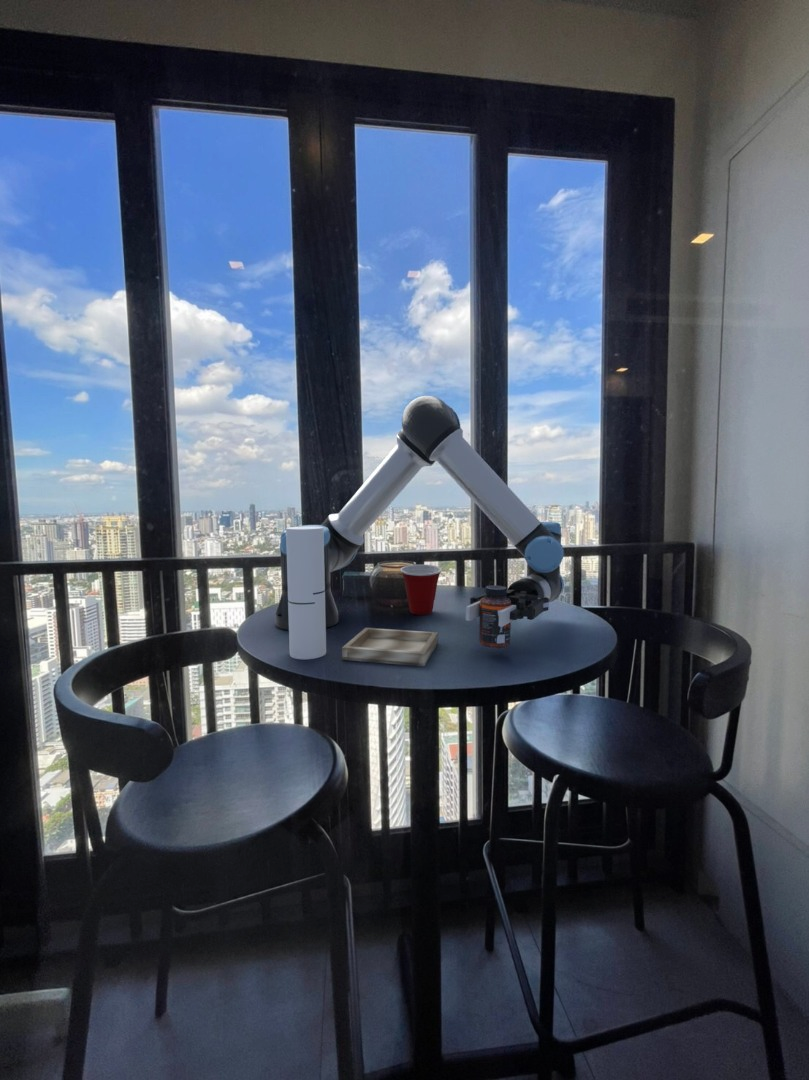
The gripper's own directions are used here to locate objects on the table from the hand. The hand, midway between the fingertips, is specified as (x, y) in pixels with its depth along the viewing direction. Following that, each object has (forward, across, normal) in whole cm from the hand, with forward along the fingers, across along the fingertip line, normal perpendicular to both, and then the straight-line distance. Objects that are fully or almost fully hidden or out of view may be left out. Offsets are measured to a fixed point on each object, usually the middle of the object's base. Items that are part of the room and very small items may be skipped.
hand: (483, 616), depth 91 cm
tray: (+4, +18, -9) cm, 21 cm away
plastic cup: (-26, +30, -9) cm, 41 cm away
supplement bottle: (-5, 0, -7) cm, 9 cm away
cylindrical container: (+14, +31, -10) cm, 36 cm away
